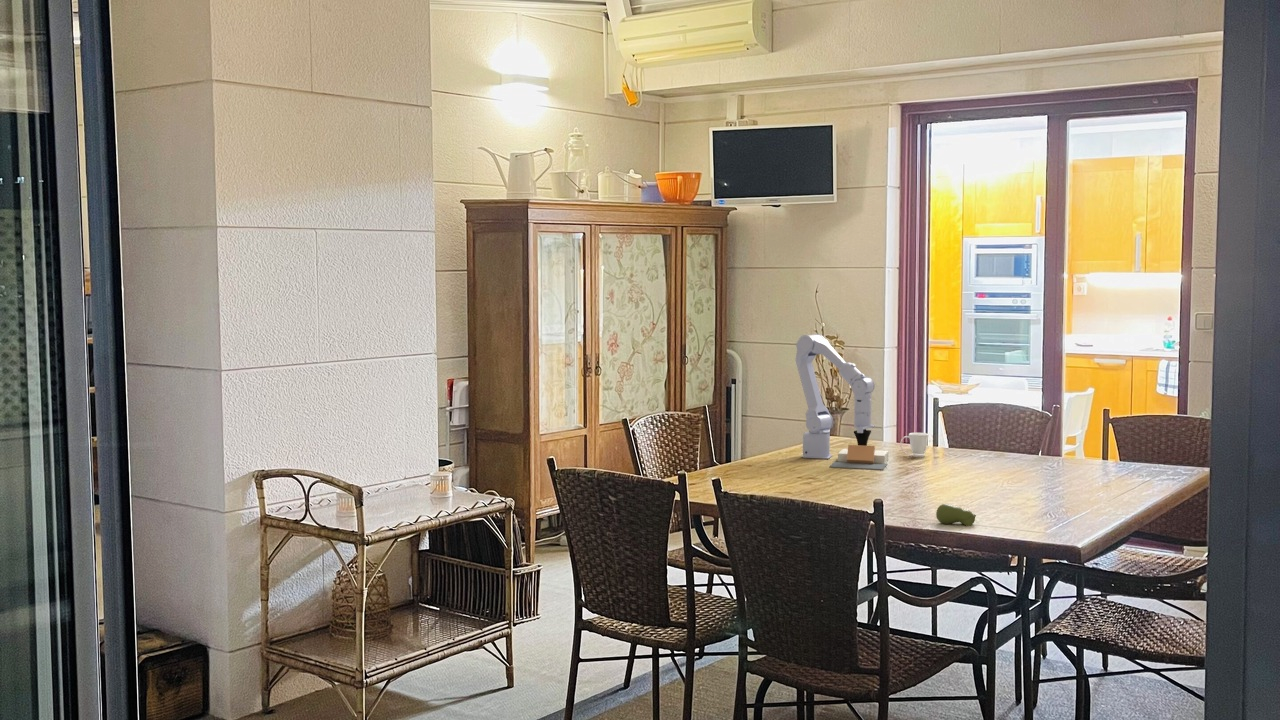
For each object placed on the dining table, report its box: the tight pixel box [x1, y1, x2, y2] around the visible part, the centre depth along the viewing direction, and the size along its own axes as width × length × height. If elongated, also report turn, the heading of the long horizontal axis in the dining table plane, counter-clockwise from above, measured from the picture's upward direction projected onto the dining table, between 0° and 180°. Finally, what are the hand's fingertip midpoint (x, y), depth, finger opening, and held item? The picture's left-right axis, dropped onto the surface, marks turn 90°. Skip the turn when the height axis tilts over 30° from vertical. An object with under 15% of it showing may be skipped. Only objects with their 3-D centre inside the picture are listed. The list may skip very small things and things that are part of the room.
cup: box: [899, 432, 930, 458], centre depth 421 cm, size 7×10×8 cm
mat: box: [829, 460, 888, 471], centre depth 398 cm, size 18×12×1 cm, turn 72°
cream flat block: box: [837, 448, 889, 464], centre depth 410 cm, size 16×12×3 cm
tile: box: [847, 444, 876, 464], centre depth 403 cm, size 9×6×2 cm
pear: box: [935, 503, 977, 527], centre depth 305 cm, size 6×5×10 cm
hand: (862, 451), depth 407 cm, fingers closed
